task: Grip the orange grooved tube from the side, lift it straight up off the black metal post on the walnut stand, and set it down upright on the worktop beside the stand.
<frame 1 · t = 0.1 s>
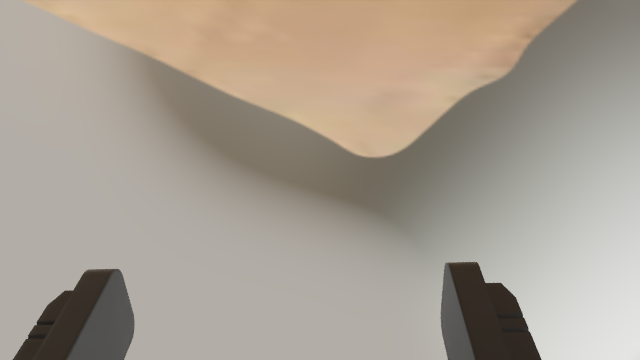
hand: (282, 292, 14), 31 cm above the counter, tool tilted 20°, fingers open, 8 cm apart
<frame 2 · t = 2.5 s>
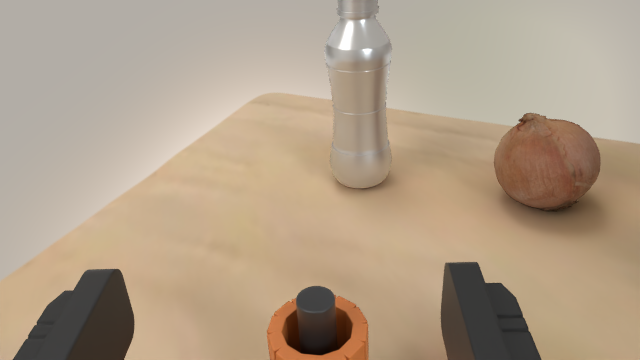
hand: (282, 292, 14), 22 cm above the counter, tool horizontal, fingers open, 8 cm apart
onion: (538, 202, 57), on the counter
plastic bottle: (360, 181, 62), on the counter
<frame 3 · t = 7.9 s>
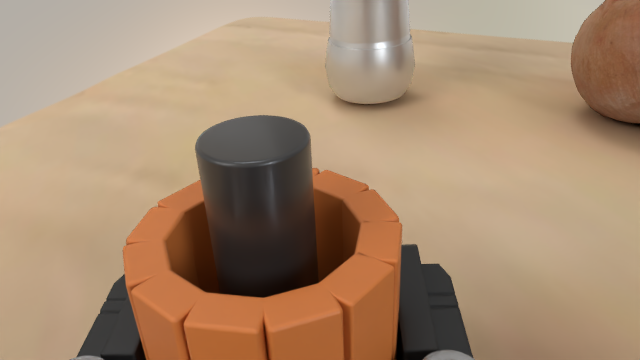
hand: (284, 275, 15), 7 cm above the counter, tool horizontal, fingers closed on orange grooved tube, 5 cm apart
onion: (636, 121, 38), on the counter
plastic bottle: (369, 100, 43), on the counter
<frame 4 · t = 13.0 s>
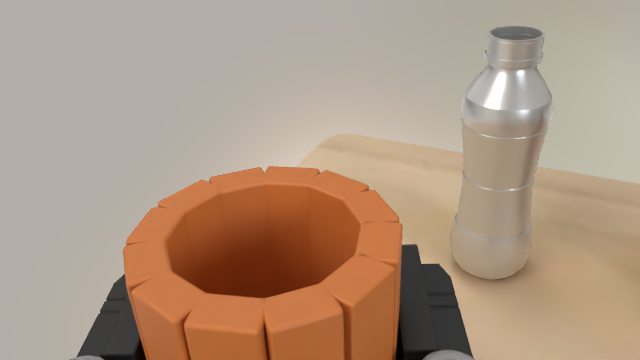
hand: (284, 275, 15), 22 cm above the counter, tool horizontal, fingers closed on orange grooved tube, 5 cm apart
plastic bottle: (486, 266, 48), on the counter
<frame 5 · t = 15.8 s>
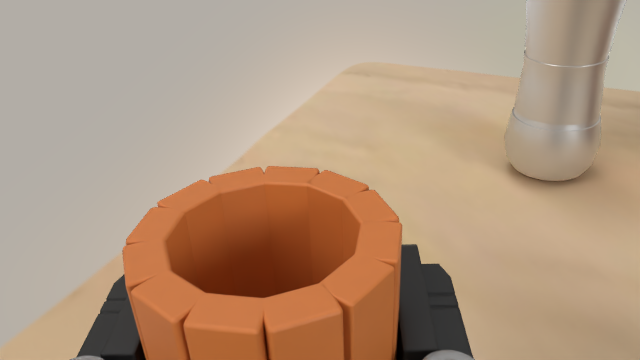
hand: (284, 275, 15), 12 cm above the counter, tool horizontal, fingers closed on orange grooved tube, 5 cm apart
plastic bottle: (545, 172, 43), on the counter
when the fingers open (6 cm above the counter, at t = 18.1 s): orange grooved tube stays where it is, on the counter.
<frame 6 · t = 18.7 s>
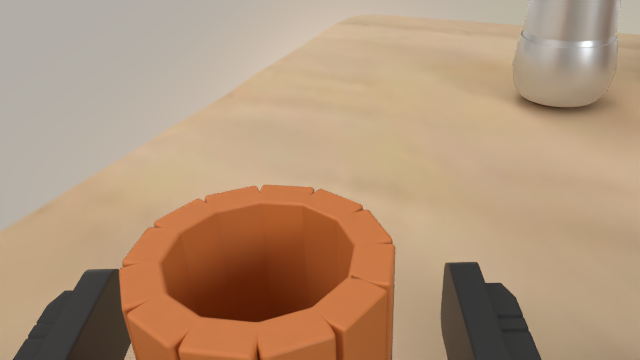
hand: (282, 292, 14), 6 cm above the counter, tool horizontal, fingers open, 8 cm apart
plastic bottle: (556, 103, 40), on the counter
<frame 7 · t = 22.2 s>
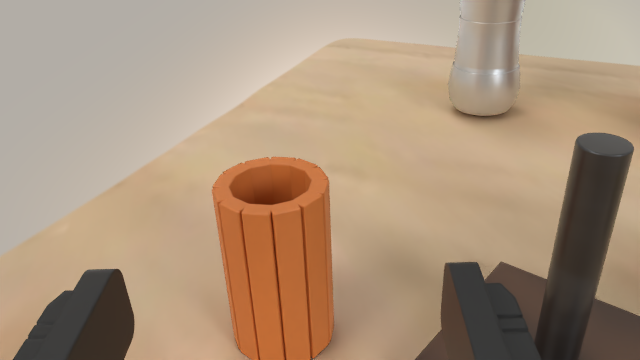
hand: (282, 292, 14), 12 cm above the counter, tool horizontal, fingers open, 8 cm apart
orange grooved tube: (284, 328, 30), on the counter
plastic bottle: (480, 112, 55), on the counter
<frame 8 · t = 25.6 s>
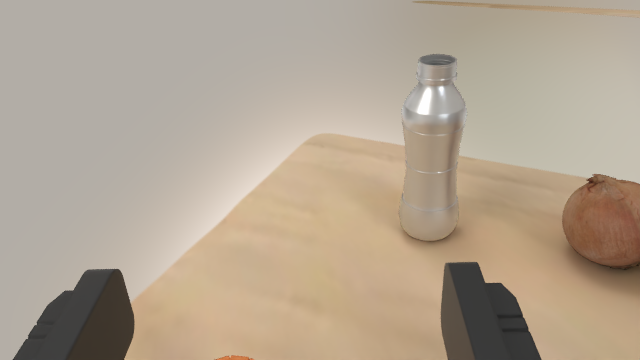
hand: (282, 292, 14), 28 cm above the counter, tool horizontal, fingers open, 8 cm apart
onion: (604, 258, 59), on the counter
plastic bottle: (427, 232, 64), on the counter
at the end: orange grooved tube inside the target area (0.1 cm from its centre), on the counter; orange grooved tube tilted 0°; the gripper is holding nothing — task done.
